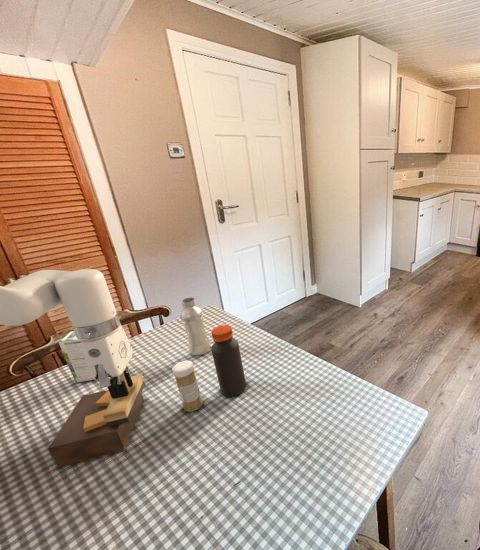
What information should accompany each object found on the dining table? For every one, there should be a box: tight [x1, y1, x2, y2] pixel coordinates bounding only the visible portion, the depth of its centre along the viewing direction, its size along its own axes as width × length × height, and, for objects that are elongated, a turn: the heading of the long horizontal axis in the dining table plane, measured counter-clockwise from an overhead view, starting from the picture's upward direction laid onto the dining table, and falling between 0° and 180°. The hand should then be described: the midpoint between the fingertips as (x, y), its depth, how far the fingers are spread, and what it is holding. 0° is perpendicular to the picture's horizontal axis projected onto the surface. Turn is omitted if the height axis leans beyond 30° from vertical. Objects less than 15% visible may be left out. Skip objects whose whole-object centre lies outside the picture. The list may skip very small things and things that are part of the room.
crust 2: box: [96, 391, 112, 407], centre depth 75 cm, size 4×4×1 cm
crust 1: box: [83, 409, 106, 432], centre depth 69 cm, size 4×4×1 cm
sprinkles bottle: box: [171, 360, 204, 413], centre depth 79 cm, size 5×5×14 cm
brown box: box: [47, 389, 145, 469], centre depth 73 cm, size 13×16×6 cm
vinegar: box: [210, 324, 247, 398], centre depth 84 cm, size 7×7×20 cm
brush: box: [103, 373, 146, 427], centre depth 72 cm, size 13×4×10 cm, turn 21°
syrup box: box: [58, 330, 95, 384], centre depth 90 cm, size 6×6×14 cm
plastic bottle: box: [179, 297, 211, 356], centre depth 100 cm, size 6×7×20 cm
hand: (123, 391), depth 72 cm, fingers closed on brush, 2 cm apart
